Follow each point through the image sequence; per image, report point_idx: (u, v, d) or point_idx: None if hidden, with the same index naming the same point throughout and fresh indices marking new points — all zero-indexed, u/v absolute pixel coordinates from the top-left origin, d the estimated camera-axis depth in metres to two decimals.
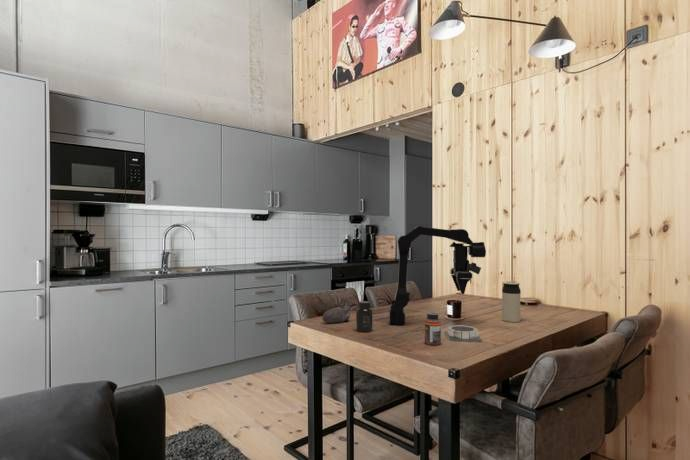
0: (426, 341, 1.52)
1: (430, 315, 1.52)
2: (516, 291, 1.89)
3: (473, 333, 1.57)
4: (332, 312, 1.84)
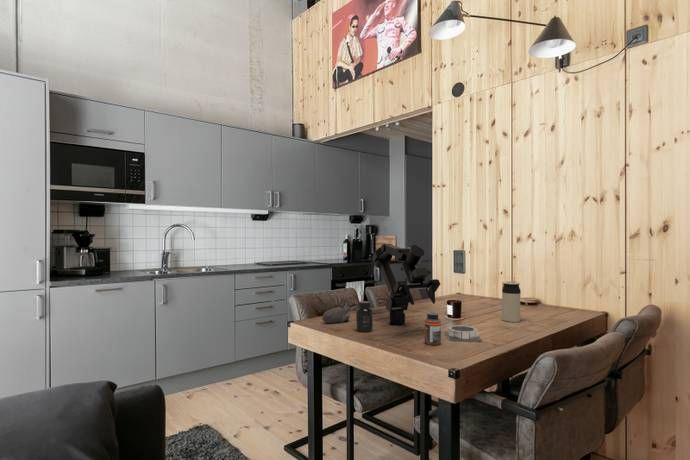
0: (426, 341, 1.52)
1: (430, 315, 1.52)
2: (516, 291, 1.89)
3: (473, 333, 1.57)
4: (332, 312, 1.84)
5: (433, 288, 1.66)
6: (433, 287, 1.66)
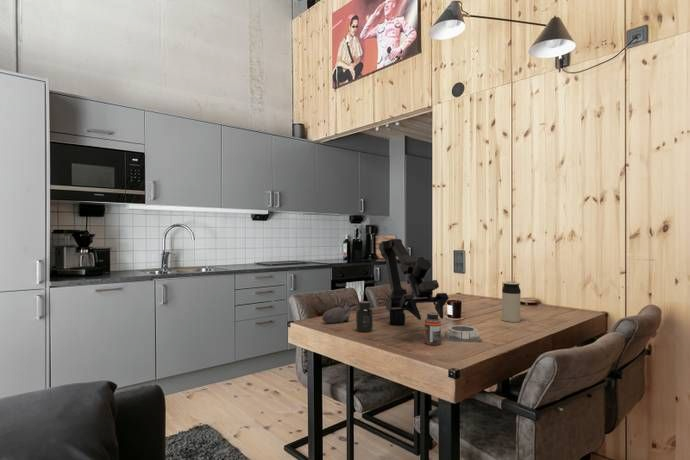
0: (426, 341, 1.52)
1: (430, 315, 1.52)
2: (516, 291, 1.89)
3: (473, 333, 1.57)
4: (332, 312, 1.84)
5: (441, 302, 1.59)
6: (441, 301, 1.59)
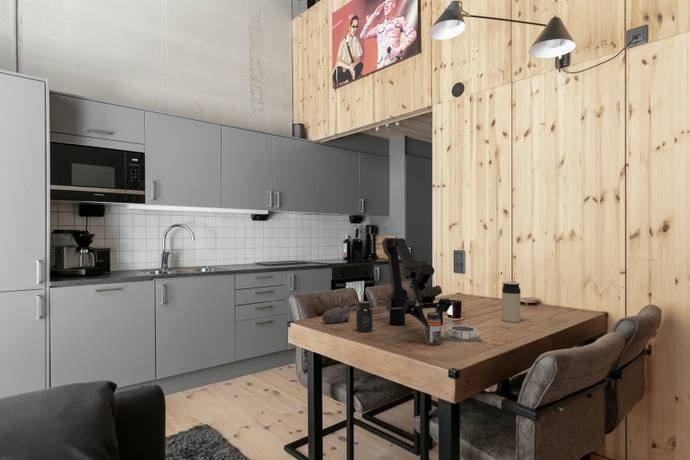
0: (426, 341, 1.52)
1: (430, 315, 1.52)
2: (516, 291, 1.89)
3: (473, 333, 1.57)
4: (332, 312, 1.84)
5: (441, 308, 1.56)
6: (441, 307, 1.56)
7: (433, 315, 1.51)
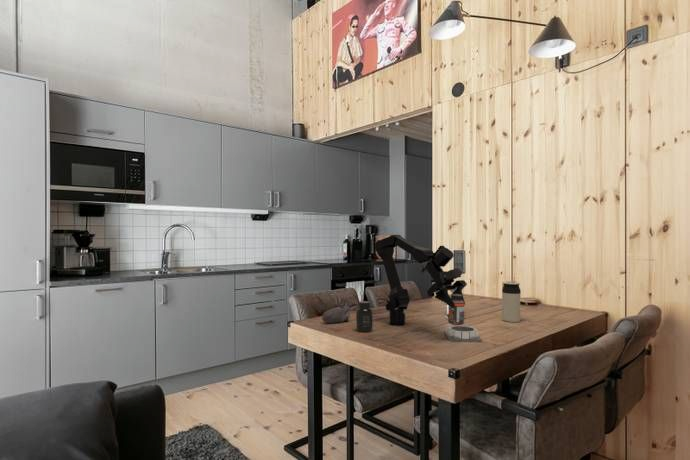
0: (452, 322, 1.57)
1: (456, 296, 1.57)
2: (516, 291, 1.89)
3: (473, 333, 1.57)
4: (332, 312, 1.84)
5: (460, 289, 1.63)
6: (460, 288, 1.63)
7: (459, 296, 1.57)
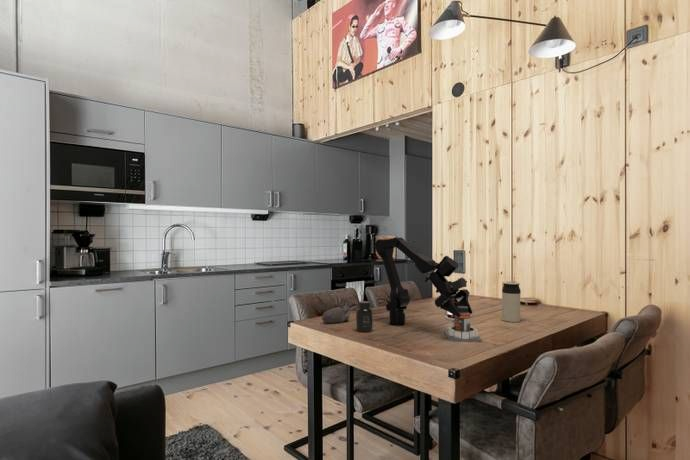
0: None
1: (463, 308, 1.60)
2: (516, 291, 1.89)
3: (473, 333, 1.57)
4: (332, 312, 1.84)
5: (466, 298, 1.67)
6: (466, 297, 1.67)
7: (465, 308, 1.61)
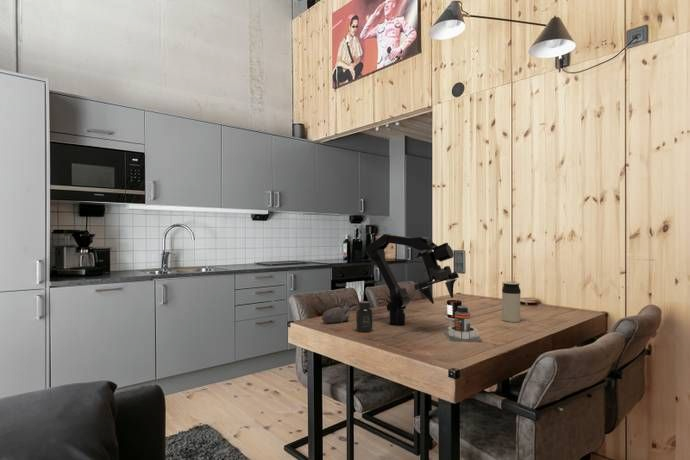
0: None
1: (463, 308, 1.60)
2: (516, 291, 1.89)
3: (473, 333, 1.57)
4: (332, 312, 1.84)
5: (452, 283, 1.73)
6: (452, 282, 1.73)
7: (465, 308, 1.61)
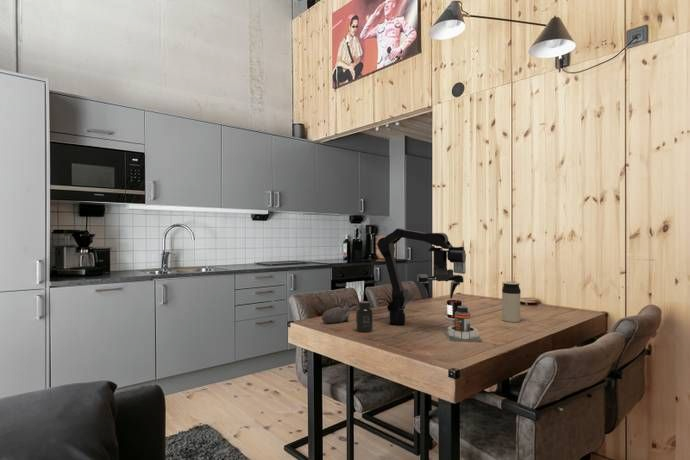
0: None
1: (463, 308, 1.60)
2: (516, 291, 1.89)
3: (473, 333, 1.57)
4: (332, 312, 1.84)
5: (454, 286, 1.74)
6: (454, 285, 1.73)
7: (465, 308, 1.61)
